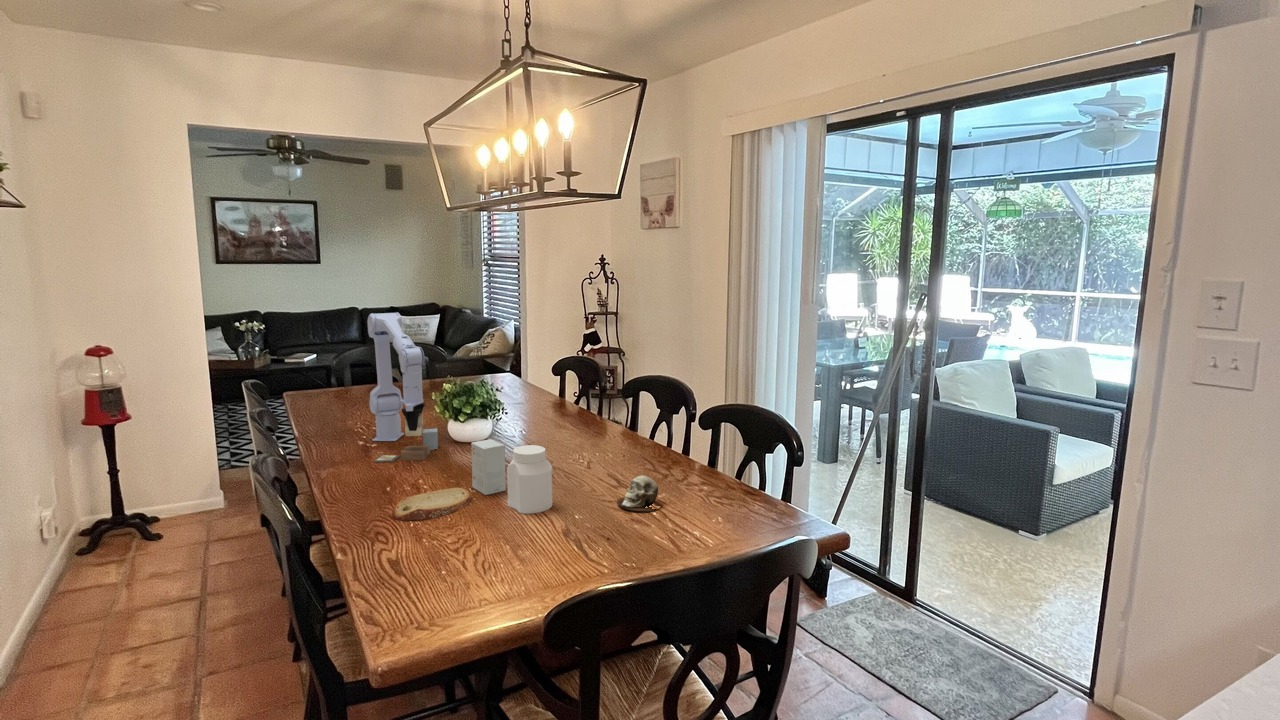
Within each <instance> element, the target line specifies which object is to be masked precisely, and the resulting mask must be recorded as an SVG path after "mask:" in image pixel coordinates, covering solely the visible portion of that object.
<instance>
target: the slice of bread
mask: <svg viewBox="0 0 1280 720" xmlns="http://www.w3.org/2000/svg"><path fill="white" fill-rule="evenodd" d="M471 501H472V495H471V493H470V491H469V490H467V489H466V488H461V487H452V488H450V487H449V488H445V489H438V490H433V491H428V492H423V493H420V494H419V493H418V494H416V495H411V496H410V495H409V496H407V497H406V496H405V497H403V498H402V499H401V500H399V501H398V502H397V503H396V504H395V505H394V508H393V510H392V513H391V515H392V519H393V520H394V519H395V521H399V522H412V521H426V520H432V519H436V518H440V517H444V516H447V515H450V514H452V513H454V512H456V511H459V510H462V509H463V508H465V507H466V506H468V505H469V504H470V503H471Z"/></svg>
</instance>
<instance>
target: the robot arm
mask: <svg viewBox="0 0 1280 720" xmlns="http://www.w3.org/2000/svg"><path fill="white" fill-rule="evenodd" d="M402 326H403V318H402V316H401V314H400V313H399V312H384V313H373V312H372V313H370V314H369V315H368V317H367V333H368V337H369V338H371V339H373V341H374V350H375V351H374V353H375V363H376V365H375V366H376V375H377V376H376V377H377V386H375V388H373V389H372V390H371V391H370V393H369V402H368V404H369V409H370V412H371V413H372V414H373V415H375V431H376V433H375V434H376V435H375V437H374V438H372V441H371V442H396V441H397V440H399V439H400V438H401V437H402V436H403V435H405V432H402V425H401V424H402V421H401V420H402V419H401V418H402V417H401V415H400V411H401V413H402V415H403V416H404V419H405V418H406V421H407V424H408V428H409V431H416V430H417V425H418V417H419V414H423V410H424V408H425V406H426V403H425V402H424V398H423V397H424V396H423V395H424V394H423V369H422V368H423V367H422V366H423V365H424V364H425V353H424V352H425V351H424V350H423V348H422V347H421V346H416V344H415V343H414V341H413V340H412V338H411V337H410V336H409V335H408V334H406V333H404V331H403V329H402ZM391 339H392V340H393V341H392V346H393V348H394V350H395V351H396V354H398V362H399V366H400V371H401V374H402V390H403V391H402V392H403V397H402V392H401V389H399V388H398V387H397V386H395V385H394V384H393V370H392V359H391V357H392V356H391V344H390V340H391ZM404 406H405V408H403V407H404Z"/></svg>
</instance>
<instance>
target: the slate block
mask: <svg viewBox="0 0 1280 720" xmlns="http://www.w3.org/2000/svg"><path fill="white" fill-rule="evenodd" d="M438 433H439V432H438V428H425V429H424V428H423V433H422V440H423V441H422V442H423V445H422V446H430V451H433V450H434V449H437V450H439V443H438V442H439V441H438V439H439V435H438Z"/></svg>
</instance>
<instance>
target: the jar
mask: <svg viewBox="0 0 1280 720" xmlns="http://www.w3.org/2000/svg"><path fill="white" fill-rule="evenodd" d="M546 449H547V448H545V447H544V446H540V445H536V444H534V445H533V444H529V445H528V444H527V445H520V446H517V447H515V448H514V449H513V450H512V454H513V456H512V460H511V461H510V463H509V464H508V466H507V467H506V473H507V475H506V476H507V477H506V478H507V479H506V480H507V506H508V507H509V508H512V509H514V510H516V511H517V512H518V513H520V514H526V515H530V514H538V513H539V514H540V513H542V512H545V511H548V510H550V509H551V508H552V506H553V466H552V464H551V463H550V461H549V459H547V457H546Z"/></svg>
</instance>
